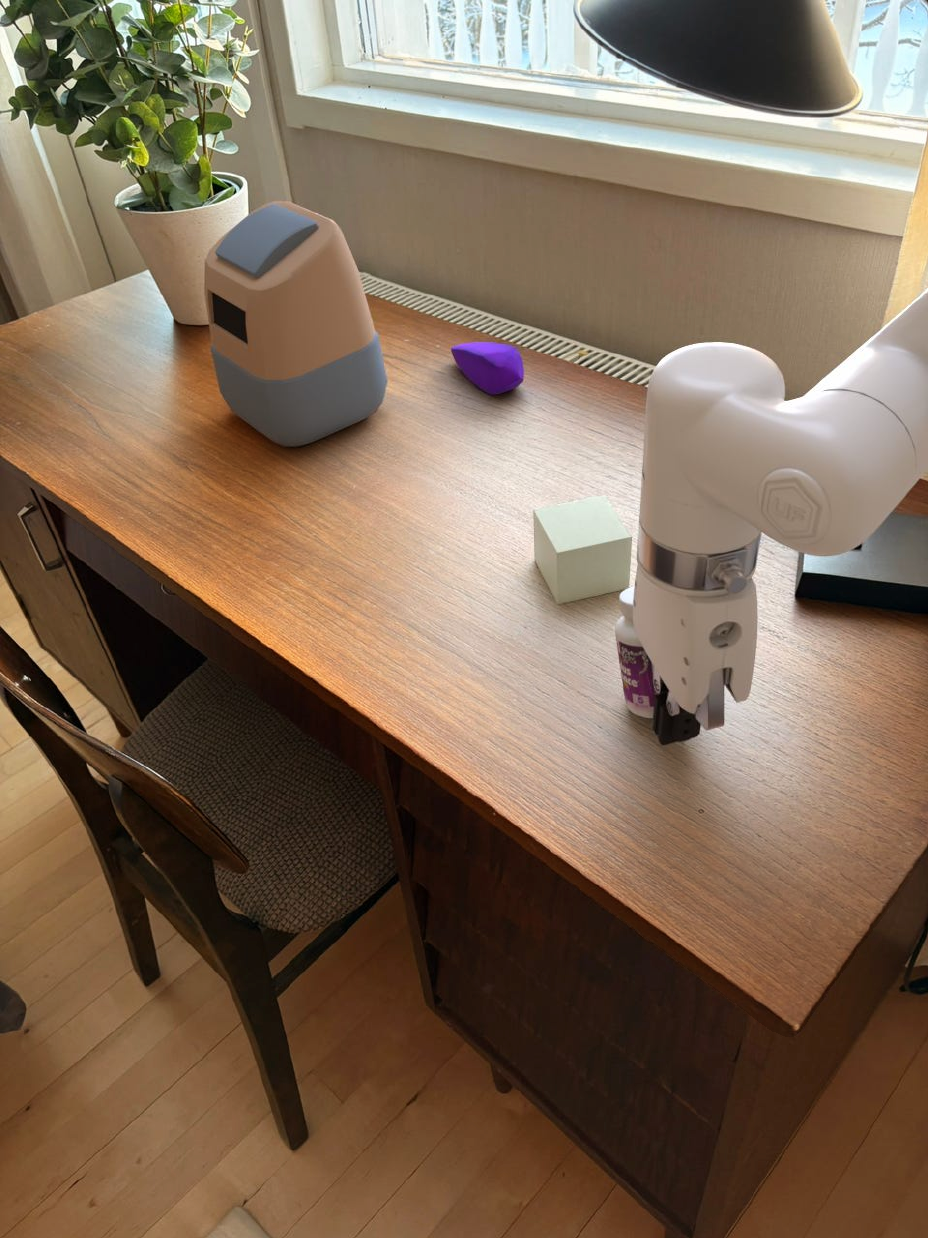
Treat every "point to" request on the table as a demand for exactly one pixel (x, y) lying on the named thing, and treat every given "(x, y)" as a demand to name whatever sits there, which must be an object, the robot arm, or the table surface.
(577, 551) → the sage block
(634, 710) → the pill bottle
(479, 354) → the crystal
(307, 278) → the alarm clock
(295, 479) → the table surface
